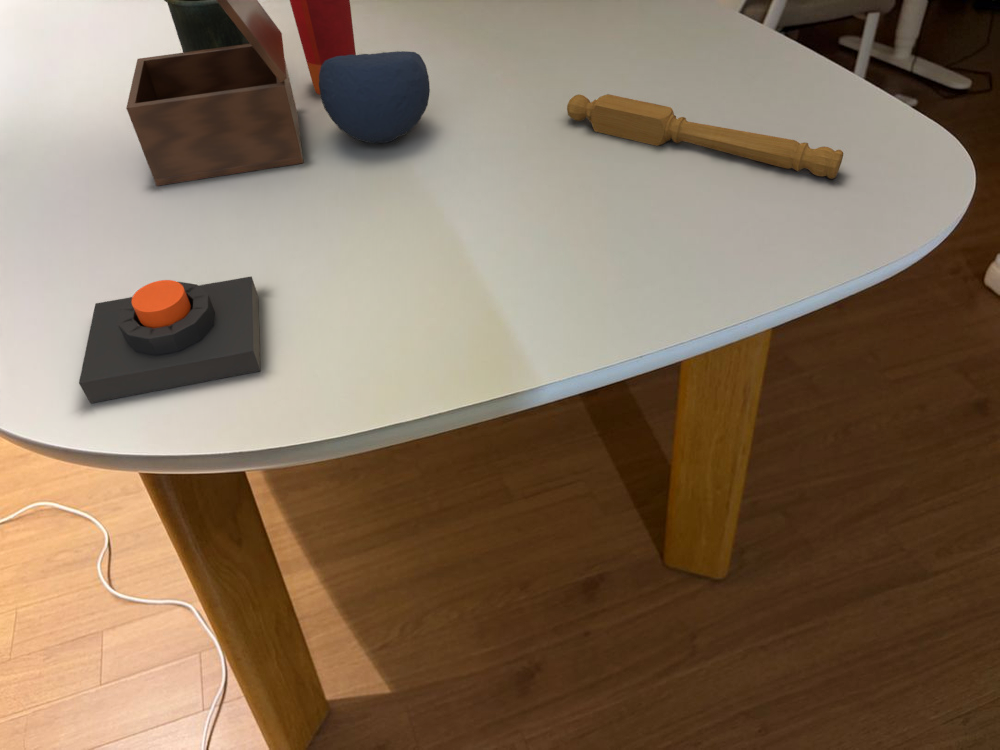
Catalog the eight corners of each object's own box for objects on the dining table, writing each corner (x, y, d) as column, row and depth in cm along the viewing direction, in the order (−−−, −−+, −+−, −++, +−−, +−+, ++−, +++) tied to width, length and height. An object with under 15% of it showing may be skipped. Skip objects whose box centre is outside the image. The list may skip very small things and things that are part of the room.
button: (137, 332, 62) (128, 315, 61) (141, 301, 65) (133, 284, 64) (189, 323, 63) (182, 306, 61) (191, 293, 65) (185, 275, 64)
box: (156, 186, 85) (126, 107, 79) (164, 132, 94) (137, 58, 88) (303, 163, 87) (284, 85, 81) (297, 113, 96) (280, 39, 90)
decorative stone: (449, 147, 89) (441, 57, 82) (345, 172, 86) (327, 81, 79) (416, 104, 96) (406, 19, 90) (319, 126, 94) (301, 40, 87)
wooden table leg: (839, 158, 77) (562, 98, 89) (831, 186, 79) (562, 123, 91) (846, 144, 79) (575, 87, 91) (839, 171, 81) (574, 112, 93)
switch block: (90, 403, 62) (68, 365, 59) (105, 323, 69) (86, 286, 66) (260, 371, 64) (247, 333, 61) (258, 296, 71) (246, 258, 68)
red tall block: (375, 75, 103) (357, -42, 93) (354, 102, 98) (332, -19, 88) (319, 72, 105) (295, -44, 95) (295, 98, 99) (267, -21, 89)
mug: (203, 111, 98) (171, 9, 90) (178, 70, 107) (146, -26, 99) (289, 89, 101) (265, -11, 93) (256, 51, 111) (232, -43, 102)
